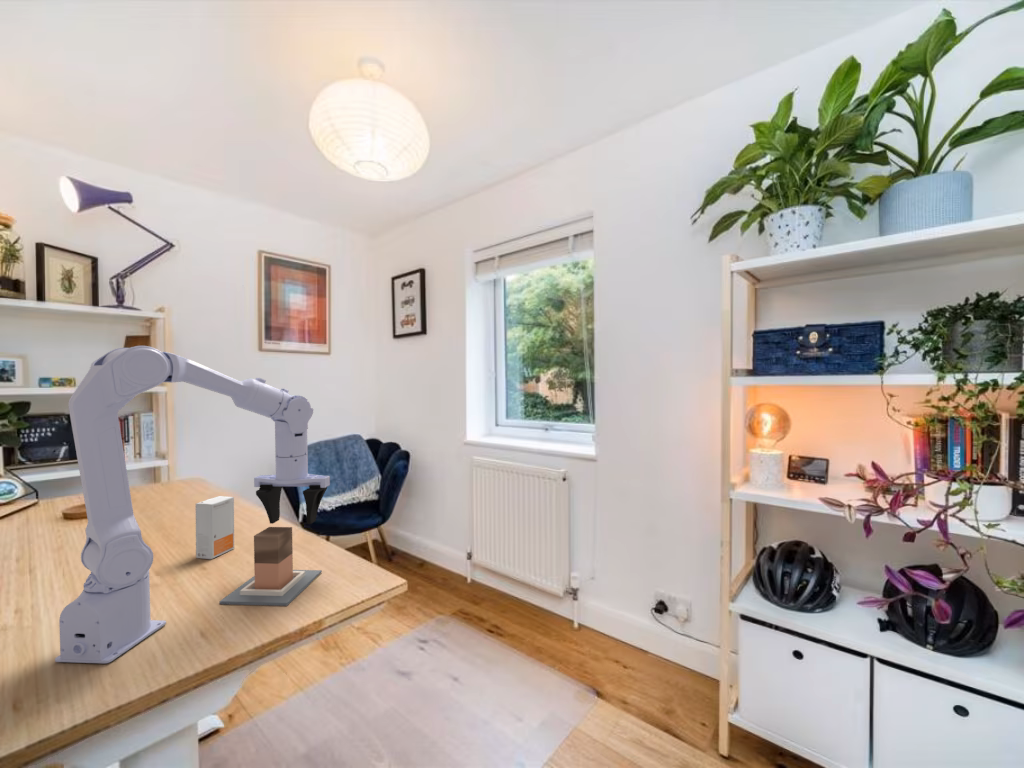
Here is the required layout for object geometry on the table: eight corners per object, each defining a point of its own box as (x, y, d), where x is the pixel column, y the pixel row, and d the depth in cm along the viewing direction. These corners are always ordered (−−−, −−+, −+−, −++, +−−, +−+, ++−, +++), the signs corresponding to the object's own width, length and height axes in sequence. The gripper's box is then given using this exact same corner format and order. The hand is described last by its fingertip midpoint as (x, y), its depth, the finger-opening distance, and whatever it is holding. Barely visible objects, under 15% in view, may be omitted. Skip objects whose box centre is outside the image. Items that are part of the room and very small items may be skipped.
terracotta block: (278, 591, 77) (278, 563, 77) (254, 590, 77) (254, 563, 77) (292, 578, 81) (292, 553, 81) (270, 578, 82) (269, 552, 81)
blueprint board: (287, 605, 73) (287, 598, 73) (219, 604, 73) (219, 596, 73) (321, 572, 85) (321, 566, 85) (263, 571, 85) (263, 565, 85)
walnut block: (278, 563, 77) (277, 536, 77) (254, 563, 77) (253, 535, 77) (292, 553, 81) (292, 527, 81) (269, 552, 81) (269, 526, 81)
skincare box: (212, 560, 91) (210, 504, 90) (195, 558, 92) (194, 503, 91) (235, 548, 97) (234, 496, 96) (220, 547, 98) (218, 495, 97)
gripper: (336, 451, 89) (337, 515, 89) (269, 450, 89) (270, 514, 90) (319, 458, 81) (320, 528, 82) (246, 457, 82) (247, 527, 83)
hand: (293, 522), depth 85 cm, fingers open, 7 cm apart
